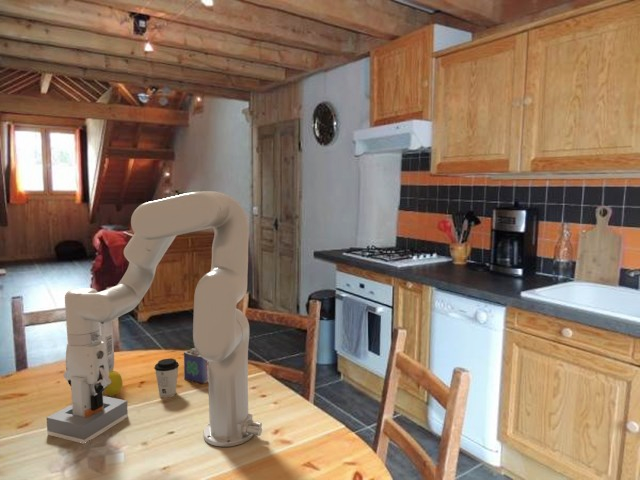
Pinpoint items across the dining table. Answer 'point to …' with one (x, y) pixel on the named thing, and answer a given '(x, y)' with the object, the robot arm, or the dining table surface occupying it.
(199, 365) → the flask
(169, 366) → the coffee cup
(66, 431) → the socket plate
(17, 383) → the dining table surface
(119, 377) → the lemon
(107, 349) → the juice carton
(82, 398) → the skincare box
